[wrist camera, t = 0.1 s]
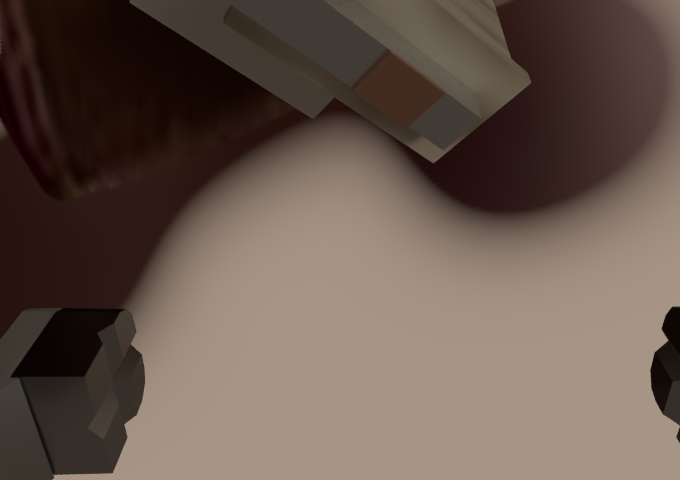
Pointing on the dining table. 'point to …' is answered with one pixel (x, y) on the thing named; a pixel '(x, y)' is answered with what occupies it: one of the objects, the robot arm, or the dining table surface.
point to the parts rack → (236, 49)
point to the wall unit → (431, 38)
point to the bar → (372, 63)
